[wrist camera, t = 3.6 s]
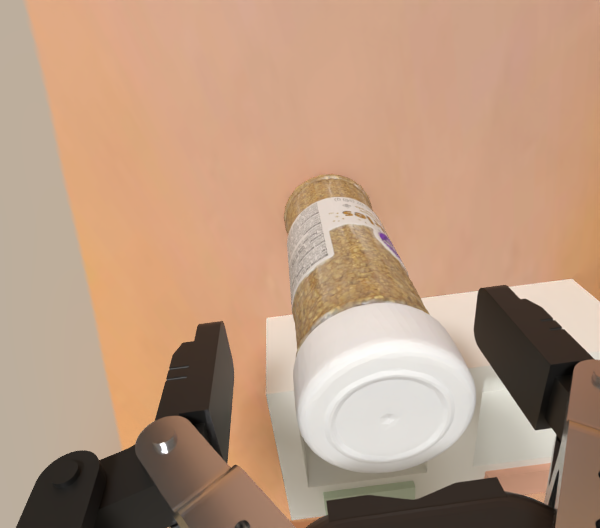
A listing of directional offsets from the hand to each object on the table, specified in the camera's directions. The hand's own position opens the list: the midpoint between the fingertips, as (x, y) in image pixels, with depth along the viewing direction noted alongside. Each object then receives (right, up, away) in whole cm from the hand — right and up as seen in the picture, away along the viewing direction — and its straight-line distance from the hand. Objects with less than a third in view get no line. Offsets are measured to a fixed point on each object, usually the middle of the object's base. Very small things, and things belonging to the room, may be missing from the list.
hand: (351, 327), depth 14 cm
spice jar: (0, +5, +9) cm, 10 cm away
